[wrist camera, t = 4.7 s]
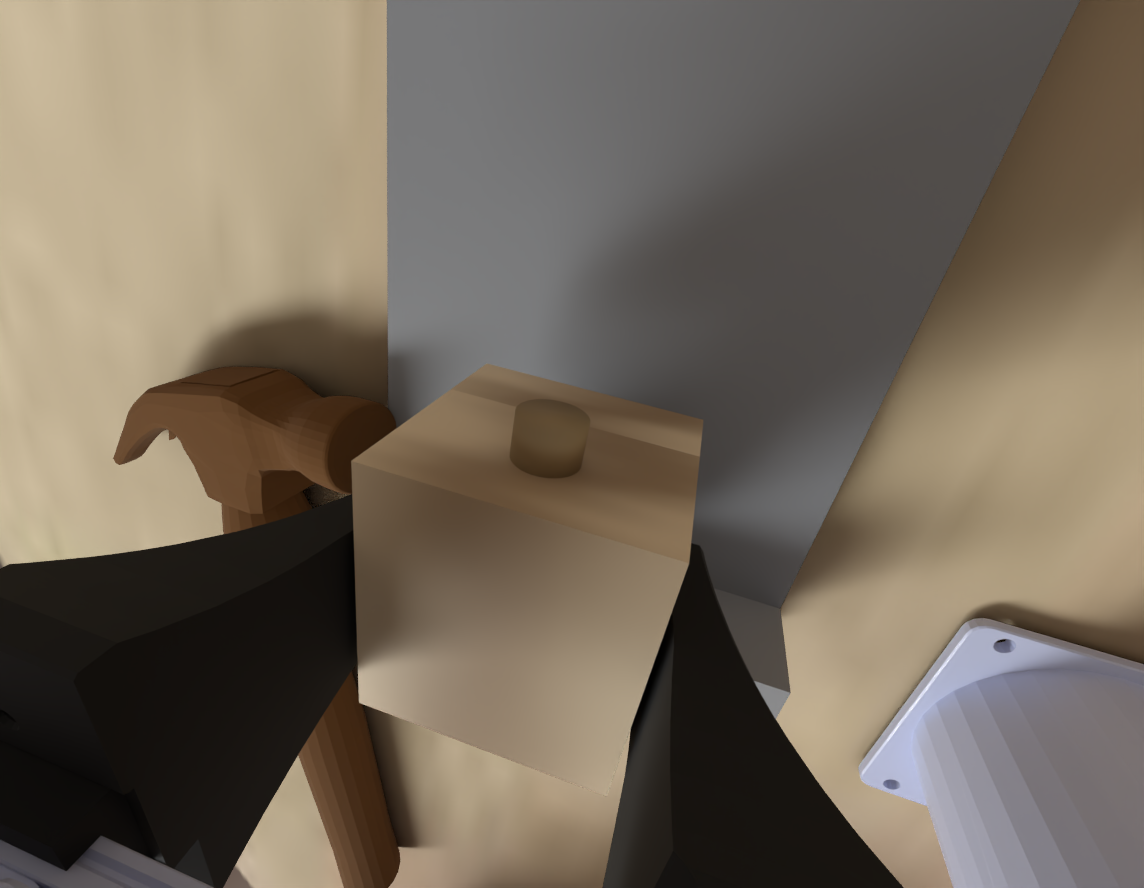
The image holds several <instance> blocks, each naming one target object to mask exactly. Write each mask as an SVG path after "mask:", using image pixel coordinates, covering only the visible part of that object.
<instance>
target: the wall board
mask: <svg viewBox="0 0 1144 888" xmlns="http://www.w3.org/2000/svg"><path fill="white" fill-rule="evenodd" d="M1079 2H1080V0H387V216H388V409H389V410H390V411H391V413H392V415H393V416H394V419H395V421H396V428H398V427H399V426H401V425H402V424H403V423H405V422H406V421H408V420H409V419H410V418H412V417H413V416H414V415H416V414H417V413H419V412H420V411H421V410H423V409H424V408H426V407H427V406H428V405H430V404H431V403H433V402H434V401H435V400H437V399H438V398H440V397H441V396H442V395H444V394H445V393H446V392H448V391H449V390H451V389H452V388H453V387H455V386H456V385H458V384H459V383H460V382H462V381H463V380H465V379H466V378H467V377H469V376H470V375H471V374H473V373H474V372H476V371H477V370H478V369H480V368H481V367H483V366H484V365H485V364H491V365H495V366H499V367H502V368H506V369H510V370H514V371H518V372H522V373H525V374H529V375H533V376H537V377H541V378H545V379H549V380H552V381H556V382H560V383H564V384H568V385H572V386H575V387H579V388H583V389H587V390H591V391H595V392H598V393H602V394H606V395H610V396H614V397H618V398H622V399H625V400H629V401H633V402H637V403H641V404H645V405H648V406H652V407H656V408H660V409H664V410H668V411H672V412H675V413H679V414H683V415H687V416H691V417H695V418H698V419H702V420H703V430H702V440H701V450H700V460H699V470H698V480H697V490H696V500H695V510H694V520H693V530H692V540H691V543H693V544H696V545H700V547H701V548H702V550H703V552H704V557H705V561H706V564H707V568H708V571H709V575H710V578H711V581H712V584H713V587H714V590H715V593H716V596H717V599H718V601H719V604H720V607H721V609H722V612H723V614H724V617H725V619H726V622H727V624H728V627H729V629H730V632H731V634H732V636H733V638H734V641H735V643H736V645H737V647H738V649H739V652H740V654H741V656H742V658H743V660H744V662H745V664H746V666H747V668H748V670H749V672H750V674H751V676H752V678H753V680H754V682H755V684H756V686H757V688H758V689H759V691H760V693H761V695H762V697H763V698H764V700H765V702H766V704H767V705H768V707H769V709H770V711H771V712H772V714H773V716H774V717H775V719H776V718H777V716H778V714H779V712H780V710H781V709H782V707H783V705H784V703H785V702H786V700H787V698H788V696H789V695H790V685H789V677H788V668H787V660H786V652H785V644H784V635H783V627H782V619H781V610H780V608H781V606H782V604H783V602H784V600H785V598H786V596H787V594H788V592H789V590H790V588H791V586H792V584H793V582H794V580H795V578H796V576H797V574H798V572H799V570H800V568H801V566H802V564H803V562H804V560H805V557H806V555H807V553H808V551H809V549H810V547H811V545H812V543H813V541H814V539H815V537H816V535H817V533H818V531H819V529H820V527H821V525H822V523H823V521H824V519H825V517H826V515H827V513H828V511H829V509H830V507H831V505H832V503H833V501H834V499H835V497H836V495H837V493H838V491H839V489H840V486H841V484H842V482H843V480H844V478H845V476H846V474H847V472H848V470H849V468H850V466H851V464H852V462H853V460H854V458H855V456H856V454H857V452H858V450H859V448H860V446H861V444H862V442H863V440H864V438H865V436H866V434H867V432H868V430H869V428H870V426H871V424H872V422H873V420H874V418H875V416H876V413H877V411H878V409H879V407H880V405H881V403H882V401H883V399H884V397H885V395H886V393H887V391H888V389H889V387H890V385H891V383H892V381H893V379H894V377H895V375H896V373H897V371H898V369H899V367H900V365H901V363H902V361H903V359H904V357H905V355H906V353H907V351H908V349H909V347H910V345H911V342H912V340H913V338H914V336H915V334H916V332H917V330H918V328H919V326H920V324H921V322H922V320H923V318H924V316H925V314H926V312H927V310H928V308H929V306H930V304H931V302H932V300H933V298H934V296H935V294H936V292H937V290H938V288H939V286H940V284H941V282H942V280H943V278H944V276H945V274H946V271H947V269H948V267H949V265H950V263H951V261H952V259H953V257H954V255H955V253H956V251H957V249H958V247H959V245H960V243H961V241H962V239H963V237H964V235H965V233H966V231H967V229H968V227H969V225H970V223H971V221H972V219H973V217H974V215H975V213H976V211H977V209H978V207H979V205H980V203H981V201H982V198H983V196H984V194H985V192H986V190H987V188H988V186H989V184H990V182H991V180H992V178H993V176H994V174H995V172H996V170H997V168H998V166H999V164H1000V162H1001V160H1002V158H1003V156H1004V154H1005V152H1006V150H1007V148H1008V146H1009V144H1010V142H1011V140H1012V138H1013V136H1014V134H1015V132H1016V130H1017V127H1018V125H1019V123H1020V121H1021V119H1022V117H1023V115H1024V113H1025V111H1026V109H1027V107H1028V105H1029V103H1030V101H1031V99H1032V97H1033V95H1034V93H1035V91H1036V89H1037V87H1038V85H1039V83H1040V81H1041V79H1042V77H1043V75H1044V73H1045V71H1046V69H1047V67H1048V65H1049V63H1050V61H1051V59H1052V57H1053V54H1054V52H1055V50H1056V48H1057V46H1058V44H1059V42H1060V40H1061V38H1062V36H1063V34H1064V32H1065V30H1066V28H1067V26H1068V24H1069V22H1070V20H1071V18H1072V16H1073V14H1074V12H1075V10H1076V8H1077V6H1078V4H1079Z"/></svg>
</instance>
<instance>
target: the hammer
mask: <svg viewBox="0 0 1144 888" xmlns="http://www.w3.org/2000/svg"><path fill="white" fill-rule="evenodd" d="M166 429H167V430H169V440H171V439H174V438H175V437H176V436H177V437H178V439H179V440H180V441H181V443H182V446H183V448H184V450H185V451H186V453H187V455H188V456H189V458H190V460H191V461H192V463H193V464H194V466H195V469H196V471H197V473H198V475H199V477H200V480H201V482H202V484H203V486H204V489H205V491H206V493H207V495H208V497H210V498H212V499H214V500H216V501H218V502H220V503H222V520H223V532H224V534H228V533H232V532H237V531H241V530H245V529H248V528H252V527H256V526H259V525H263V524H266V523H270V522H274V521H277V520H280V519H283V518H287V517H290V516H293V515H296V514H299V513H302V512H305V511H307V510H310V509H312V508H311V506H310V504H309V502H308V500H307V498H306V497H305V495H304V493H303V490H305V489H306V488H308V487H310V486H312V485H314V484H315V483H317V484H319V485H321V486H323V487H326V488H328V489H331V490H333V491H336V492H339V493H342V494H349V495H350V494H352V468H351V461H352V460H353V459H355V458H356V457H357V456H359V455H360V454H362V453H363V452H364V451H366V450H367V449H369V448H370V447H371V446H373V445H374V444H376V443H377V442H378V441H380V440H381V439H383V438H384V437H385V436H387V435H388V434H389V433H391V432H392V431H394V430H395V429H396V421H395V419H394V416H393V415H392V413H391V411H390V410H389V409H388V408H387V407H385V406H384V405H382V404H380V403H378V402H374V401H371V400H367V399H363V398H358V397H353V396H330V397H325V398H323V397H321V396H319V395H318V394H316V393H315V392H314V391H312V390H311V389H310V388H309V387H308V386H307V385H306V384H305V383H304V381H303V380H301V379H300V378H298V377H296V376H294V375H293V374H291V373H289V372H287V371H285V370H283V369H275V368H263V367H222V368H217V369H213V370H209V371H205V372H202V373H199V374H195V375H192V376H189V377H185V378H182V379H179V380H176V381H172V382H169V383H165V384H162V385H159V386H156V387H153V388H150V389H148V390H147V391H146V392H145V393H144V394H143V395H142V396H141V397H140V398H139V399H138V400H137V401H136V402H135V403H134V404H133V405H132V407H131V409H130V410H129V412H128V415H127V418H126V422H125V425H124V428H123V431H122V434H121V437H120V440H119V443H118V446H117V449H116V452H115V455H114V458H113V459H114V461H115V462H116V463H117V464H119V465H121V464H125V463H127V462H130V461H132V460H135V459H137V458H139V457H140V456H142V455H143V454H144V452H145V451H146V450H147V448H148V447H149V445H150V444H151V443H152V442H153V440H154V439H155V438H156V437H157V436H158V435H159V434H160V433H161V432H162V431H164V430H166ZM298 755H299V758H300V761H301V764H302V766H303V769H304V772H305V775H306V777H307V780H308V783H309V786H310V788H311V791H312V794H313V797H314V799H315V802H316V805H317V808H318V811H319V813H320V816H321V819H322V822H323V824H324V827H325V830H326V833H327V835H328V838H329V841H330V844H331V846H332V849H333V852H334V856H335V859H336V862H337V866H338V869H339V872H340V876H341V879H342V883H343V886H344V888H388V887H389V886H390V885H391V883H392V882H393V881H394V879H395V877H396V875H397V873H398V869H399V865H400V852H399V849H398V845H397V842H396V838H395V835H394V832H393V828H392V825H391V821H390V818H389V814H388V809H387V805H386V801H385V797H384V792H383V788H382V784H381V780H380V775H379V771H378V767H377V763H376V758H375V754H374V750H373V746H372V741H371V737H370V733H369V728H368V724H367V720H366V716H365V712H364V709H363V705H362V704H361V703H359V692H358V689H357V686H356V683H355V680H354V676H353V673H352V671H351V672H350V674H349V675H348V677H347V679H346V680H345V682H344V683H343V685H342V686H341V688H340V689H339V691H338V692H337V694H336V695H335V697H334V699H333V700H332V702H331V703H330V705H329V706H328V708H327V709H326V711H325V712H324V714H323V716H322V717H321V719H320V720H319V722H318V724H317V725H316V727H315V728H314V730H313V732H312V733H311V735H310V737H309V738H308V740H307V741H306V743H305V745H304V746H303V748H302V749H301V751H300V753H299V754H298Z"/></svg>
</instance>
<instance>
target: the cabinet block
mask: <svg viewBox="0 0 1144 888" xmlns="http://www.w3.org/2000/svg"><path fill="white" fill-rule="evenodd" d="M702 430H703V420H702V419H698V418H695V417H691V416H687V415H683V414H679V413H675V412H672V411H668V410H664V409H660V408H656V407H652V406H648V405H645V404H641V403H637V402H633V401H629V400H625V399H622V398H618V397H614V396H610V395H606V394H602V393H598V392H595V391H591V390H587V389H583V388H579V387H575V386H572V385H568V384H564V383H560V382H556V381H552V380H549V379H545V378H541V377H537V376H533V375H529V374H525V373H522V372H518V371H514V370H510V369H506V368H502V367H499V366H495V365H491V364H485V365H484V366H483V367H481V368H480V369H478V370H477V371H476V372H474V373H473V374H471V375H470V376H469V377H467V378H466V379H465V380H463V381H462V382H460V383H459V384H458V385H456V386H455V387H453V388H452V389H451V390H449V391H448V392H446V393H445V394H444V395H442V396H441V397H440V398H438V399H437V400H435V401H434V402H433V403H431V404H430V405H428V406H427V407H426V408H424V409H423V410H421V411H420V412H419V413H417V414H416V415H414V416H413V417H412V418H410V419H409V420H408V421H406V422H405V423H403V424H402V425H401V426H399V427H398V428H396V429H395V430H394V431H392V432H391V433H389V434H388V435H387V436H385V437H384V438H383V439H381V440H380V441H378V442H377V443H376V444H374V445H373V446H371V447H370V448H369V449H367V450H366V451H364V452H363V453H362V454H360V455H359V456H357V457H356V458H355V459H353V460H352V461H351V468H352V499H353V531H354V562H355V594H356V625H357V657H358V688H359V703H361V704H364V705H366V706H369V707H372V708H374V709H377V710H379V711H382V712H385V713H387V714H390V715H393V716H395V717H398V718H401V719H403V720H406V721H408V722H411V723H414V724H416V725H419V726H422V727H424V728H427V729H429V730H432V731H435V732H437V733H440V734H443V735H445V736H448V737H451V738H453V739H456V740H458V741H461V742H464V743H466V744H469V745H472V746H474V747H477V748H479V749H482V750H485V751H487V752H490V753H493V754H495V755H498V756H500V757H503V758H506V759H508V760H511V761H514V762H516V763H519V764H522V765H524V766H527V767H529V768H532V769H535V770H537V771H540V772H543V773H545V774H548V775H550V776H553V777H556V778H558V779H561V780H564V781H566V782H569V783H571V784H574V785H577V786H579V787H582V788H585V789H587V790H590V791H593V792H595V793H598V794H600V795H603V796H606V797H607V794H608V791H609V788H610V786H611V783H612V780H613V777H614V774H615V771H616V769H617V766H618V763H619V760H620V757H621V754H622V752H623V749H624V746H625V743H626V740H627V737H628V735H629V732H630V729H631V726H632V723H633V721H634V718H635V715H636V712H637V709H638V706H639V704H640V701H641V698H642V695H643V692H644V689H645V687H646V684H647V681H648V678H649V675H650V673H651V670H652V667H653V664H654V661H655V658H656V656H657V653H658V650H659V647H660V644H661V641H662V639H663V636H664V633H665V630H666V627H667V625H668V622H669V619H670V616H671V613H672V610H673V608H674V605H675V602H676V599H677V596H678V593H679V591H680V588H681V585H682V582H683V579H684V577H685V574H686V571H687V568H688V565H689V560H690V550H691V540H692V530H693V520H694V510H695V500H696V490H697V480H698V470H699V460H700V450H701V440H702Z"/></svg>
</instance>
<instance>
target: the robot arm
mask: <svg viewBox="0 0 1144 888" xmlns="http://www.w3.org/2000/svg"><path fill="white" fill-rule="evenodd" d="M1001 639H1007V640H1006V641H1004V642H1000V643H998V642H997V641H998V640H1001ZM357 663H358V657H357V625H356V594H355V562H354V531H353V499H352V494H351V495H348V496H346V497H343V498H341V499H338V500H335V501H332V502H330V503H327V504H324V505H321V506H318V507H316V508H313V509H310V510H307V511H305V512H302V513H299V514H296V515H293V516H290V517H287V518H283V519H280V520H277V521H274V522H270V523H266V524H263V525H259V526H256V527H252V528H248V529H245V530H241V531H237V532H232V533H228V534H223V535H218V536H214V537H209V538H204V539H200V540H195V541H191V542H186V543H181V544H176V545H170V546H164V547H158V548H152V549H146V550H140V551H133V552H126V553H119V554H112V555H103V556H95V557H86V558H76V559H65V560H54V561H44V562H33V563H21V564H9V565H7V566H5V567H3V568H1V569H0V888H223V887H224V885H225V883H226V881H227V879H228V877H229V875H230V874H231V872H232V870H233V868H234V866H235V864H236V863H237V861H238V859H239V857H240V855H241V854H242V852H243V850H244V848H245V846H246V845H247V843H248V841H249V839H250V837H251V836H252V834H253V832H254V830H255V828H256V827H257V825H258V823H259V821H260V819H261V817H262V816H263V814H264V812H265V810H266V809H267V807H268V805H269V804H270V802H271V800H272V798H273V797H274V795H275V793H276V792H277V790H278V788H279V787H280V785H281V783H282V781H283V780H284V778H285V776H286V775H287V773H288V771H289V769H290V768H291V766H292V764H293V763H294V761H295V759H296V758H297V756H298V754H299V753H300V751H301V749H302V748H303V746H304V745H305V743H306V741H307V740H308V738H309V737H310V735H311V733H312V732H313V730H314V728H315V727H316V725H317V724H318V722H319V720H320V719H321V717H322V716H323V714H324V712H325V711H326V709H327V708H328V706H329V705H330V703H331V702H332V700H333V699H334V697H335V695H336V694H337V692H338V691H339V689H340V688H341V686H342V685H343V683H344V682H345V680H346V679H347V677H348V675H349V674H350V672H351V671H352V670H353V668H354V667H355V666H356V664H357ZM858 769H859V773H860V777H861V780H862V781H863V782H864V783H865V784H867V785H869V786H871V787H874V788H877V789H880V790H882V791H885V792H888V793H891V794H894V795H897V796H900V797H902V798H905V799H908V800H911V801H914V802H917V803H920V804H923V805H925V806H928V809H929V813H930V816H931V819H932V822H933V825H934V828H935V831H936V835H937V838H938V841H939V844H940V847H941V850H942V853H943V857H944V860H945V863H946V866H947V869H948V872H949V875H950V879H951V882H952V885H953V888H1144V664H1141V663H1138V662H1134V661H1131V660H1128V659H1124V658H1121V657H1117V656H1114V655H1111V654H1107V653H1104V652H1100V651H1097V650H1093V649H1090V648H1087V647H1083V646H1080V645H1076V644H1073V643H1070V642H1066V641H1063V640H1059V639H1056V638H1053V637H1049V636H1046V635H1042V634H1039V633H1036V632H1032V631H1029V630H1025V629H1022V628H1019V627H1015V626H1012V625H1008V624H1005V623H1001V622H998V621H995V620H991V619H986V618H977V619H972V620H970V621H967V622H966V623H965V624H964V625H962V627H961V628H960V629H959V631H958V632H957V633H956V635H955V636H954V637H953V639H952V640H951V641H950V643H949V644H948V645H947V647H946V648H945V650H944V651H943V652H942V654H941V655H940V656H939V658H938V659H937V660H936V662H935V663H934V664H933V666H932V667H931V668H930V670H929V671H928V673H927V674H926V675H925V677H924V678H923V679H922V681H921V682H920V683H919V685H918V686H917V687H916V689H915V690H914V691H913V693H912V694H911V696H910V697H909V698H908V700H907V701H906V702H905V704H904V705H903V706H902V708H901V709H900V710H899V712H898V713H897V714H896V716H895V717H894V719H893V720H892V721H891V723H890V724H889V725H888V727H887V728H886V729H885V731H884V732H883V733H882V735H881V736H880V737H879V739H878V740H877V742H876V743H875V744H874V746H873V747H872V748H871V750H870V751H869V752H868V754H867V755H866V756H865V758H864V759H863V760H862V762H861V763H860V765H859V767H858ZM603 888H903V887H902V885H901V884H900V883H899V882H898V881H897V880H896V878H895V877H894V876H893V875H892V874H891V873H890V871H889V870H888V869H887V868H886V867H885V866H884V864H883V863H882V862H881V861H880V860H879V859H878V857H877V856H876V855H875V854H874V853H873V852H872V850H871V849H870V848H869V847H868V846H867V845H866V844H865V842H864V841H863V840H862V839H861V838H860V836H859V835H858V834H857V833H856V831H855V830H854V829H853V828H852V826H851V825H850V824H849V823H848V821H847V820H846V819H845V817H844V816H843V815H842V813H841V812H840V811H839V810H838V808H837V807H836V806H835V804H834V803H833V802H832V801H831V799H830V798H829V797H828V795H827V794H826V793H825V791H824V790H823V789H822V787H821V786H820V785H819V783H818V782H817V780H816V779H815V778H814V776H813V775H812V773H811V772H810V770H809V769H808V767H807V766H806V764H805V763H804V762H803V760H802V759H801V757H800V756H799V754H798V753H797V751H796V750H795V748H794V747H793V746H792V744H791V743H790V741H789V740H788V738H787V737H786V735H785V734H784V732H783V730H782V729H781V727H780V725H779V724H778V722H777V721H776V719H775V717H774V716H773V714H772V712H771V711H770V709H769V707H768V705H767V704H766V702H765V700H764V698H763V697H762V695H761V693H760V691H759V689H758V688H757V686H756V684H755V682H754V680H753V678H752V676H751V674H750V672H749V670H748V668H747V666H746V664H745V662H744V660H743V658H742V656H741V654H740V652H739V649H738V647H737V645H736V643H735V641H734V638H733V636H732V634H731V632H730V629H729V627H728V624H727V622H726V619H725V617H724V614H723V612H722V609H721V607H720V604H719V601H718V599H717V596H716V593H715V590H714V587H713V584H712V581H711V578H710V575H709V571H708V568H707V564H706V561H705V557H704V552H703V550H702V548H701V547H700V545H696V544H693V543H691V550H690V560H689V565H688V568H687V571H686V574H685V577H684V579H683V582H682V585H681V588H680V591H679V593H678V596H677V599H676V602H675V605H674V608H673V610H672V613H671V616H670V619H669V622H668V625H667V627H666V630H665V633H664V636H663V639H662V641H661V644H660V647H659V650H658V653H657V656H656V658H655V661H654V664H653V667H652V670H651V673H650V675H649V678H648V681H647V684H646V687H645V689H644V692H643V695H642V698H641V701H640V704H639V706H638V709H637V712H636V715H635V718H634V721H633V723H632V726H631V732H630V742H629V751H628V758H627V765H626V772H625V778H624V783H623V788H622V793H621V798H620V803H619V808H618V814H617V819H616V824H615V829H614V834H613V839H612V844H611V848H610V853H609V858H608V863H607V868H606V873H605V878H604V883H603Z"/></svg>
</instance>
